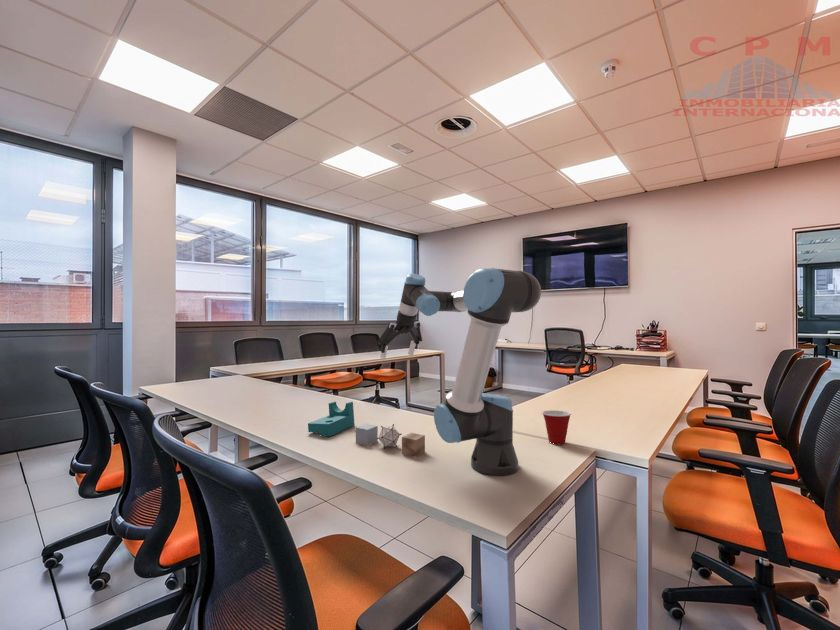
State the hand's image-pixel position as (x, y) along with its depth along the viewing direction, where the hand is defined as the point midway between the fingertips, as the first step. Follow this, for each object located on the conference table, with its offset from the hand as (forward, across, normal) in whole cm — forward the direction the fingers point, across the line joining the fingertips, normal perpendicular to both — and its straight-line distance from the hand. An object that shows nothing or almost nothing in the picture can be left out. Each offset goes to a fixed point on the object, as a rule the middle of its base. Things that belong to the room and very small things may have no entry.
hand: (396, 356), depth 152 cm
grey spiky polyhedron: (+22, +12, +26) cm, 36 cm away
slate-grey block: (+27, +16, +16) cm, 36 cm away
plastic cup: (+9, -44, +56) cm, 72 cm away
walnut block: (+18, +8, +35) cm, 40 cm away
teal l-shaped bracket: (+38, +22, -4) cm, 44 cm away
